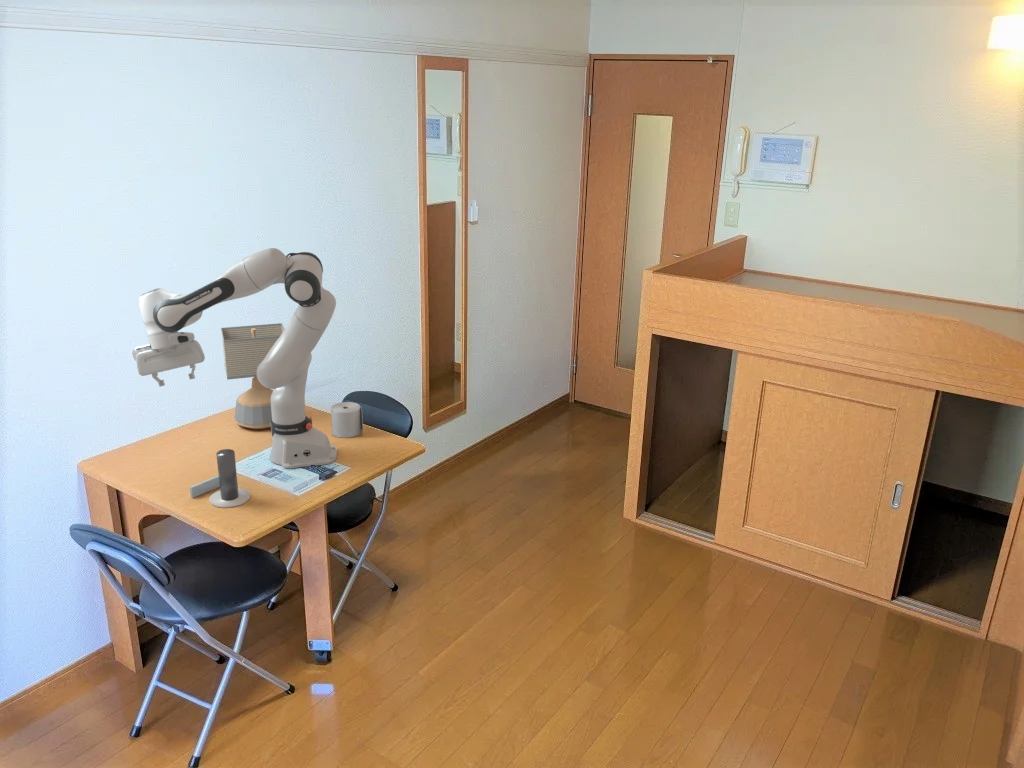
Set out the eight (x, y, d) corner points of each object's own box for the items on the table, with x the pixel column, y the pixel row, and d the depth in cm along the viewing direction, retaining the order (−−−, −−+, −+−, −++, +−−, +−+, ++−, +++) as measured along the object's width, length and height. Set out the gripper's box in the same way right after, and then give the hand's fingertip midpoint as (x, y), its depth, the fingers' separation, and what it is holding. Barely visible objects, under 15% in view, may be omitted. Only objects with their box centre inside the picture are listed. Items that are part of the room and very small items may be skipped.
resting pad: (253, 488, 265) (253, 487, 265) (246, 507, 254) (246, 505, 253) (214, 489, 263) (214, 488, 263) (205, 508, 252) (205, 506, 252)
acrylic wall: (229, 480, 269) (228, 471, 268) (231, 481, 269) (230, 472, 268) (190, 497, 259) (189, 486, 257) (192, 497, 258) (191, 487, 257)
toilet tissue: (334, 426, 313) (333, 401, 309) (366, 426, 313) (365, 401, 310) (329, 438, 303) (328, 412, 299) (362, 438, 303) (361, 412, 300)
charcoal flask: (234, 491, 262) (230, 447, 256) (241, 497, 258) (237, 453, 253) (218, 495, 259) (213, 452, 253) (225, 502, 255) (220, 458, 250)
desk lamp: (233, 435, 302) (223, 339, 289) (229, 416, 319) (220, 324, 306) (294, 428, 310) (287, 334, 297) (287, 410, 326) (281, 319, 314)
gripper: (128, 349, 259) (142, 392, 262) (196, 334, 263) (208, 376, 266) (132, 347, 265) (145, 388, 268) (198, 332, 269) (210, 373, 272)
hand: (177, 382), depth 267 cm, fingers open, 8 cm apart
